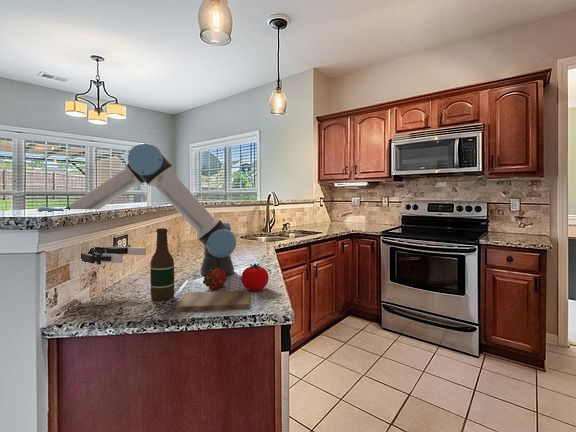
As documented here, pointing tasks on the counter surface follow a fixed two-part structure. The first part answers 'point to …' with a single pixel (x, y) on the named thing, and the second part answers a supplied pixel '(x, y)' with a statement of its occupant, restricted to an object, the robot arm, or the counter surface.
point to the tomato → (254, 277)
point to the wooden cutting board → (213, 301)
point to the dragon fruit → (215, 278)
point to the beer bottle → (162, 269)
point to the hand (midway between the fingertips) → (134, 254)
